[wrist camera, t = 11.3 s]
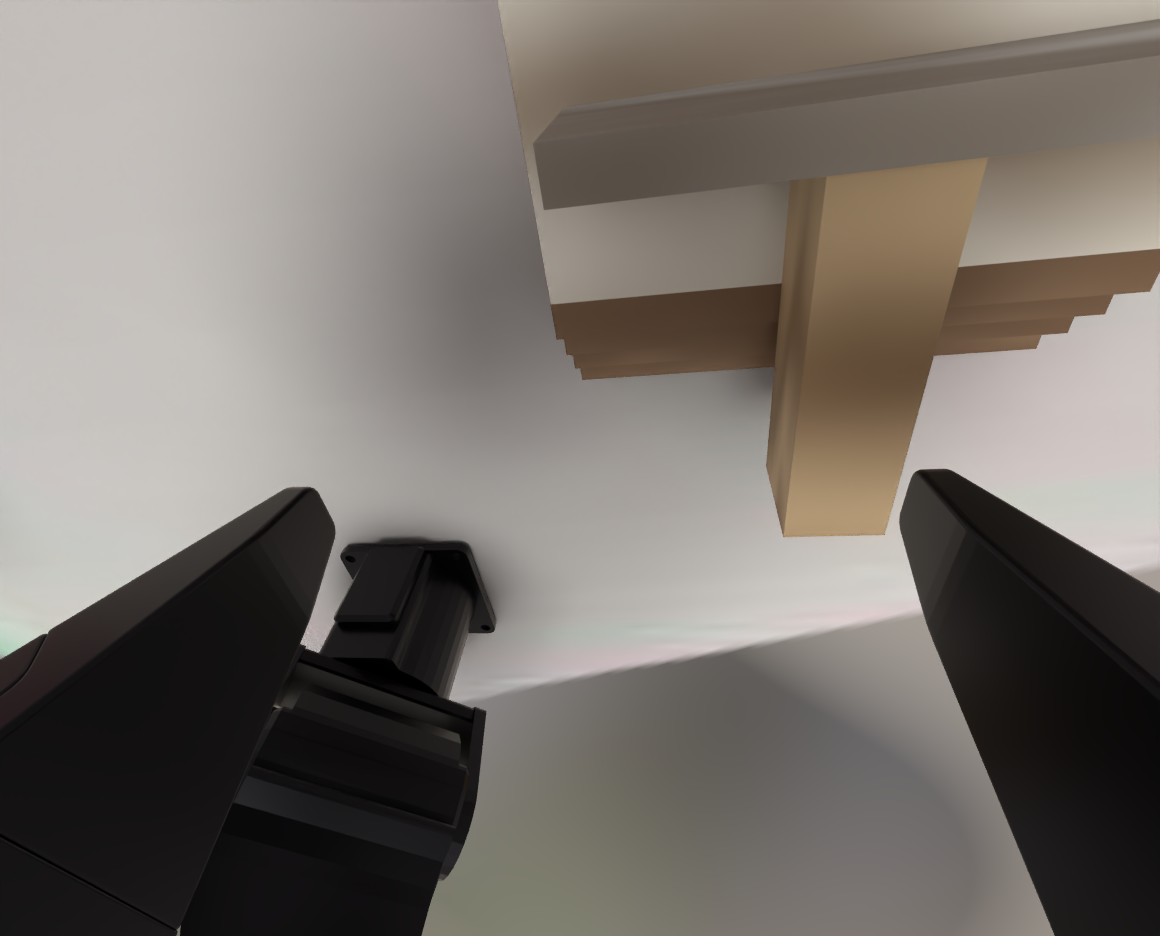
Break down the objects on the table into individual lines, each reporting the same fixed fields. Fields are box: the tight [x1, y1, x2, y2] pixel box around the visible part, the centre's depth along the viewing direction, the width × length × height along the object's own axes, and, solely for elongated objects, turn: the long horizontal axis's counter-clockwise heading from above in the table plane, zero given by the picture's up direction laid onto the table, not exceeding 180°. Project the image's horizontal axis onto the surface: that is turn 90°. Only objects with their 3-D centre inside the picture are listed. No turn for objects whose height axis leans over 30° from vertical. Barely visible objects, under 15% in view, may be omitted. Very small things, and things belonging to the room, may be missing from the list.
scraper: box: [533, 19, 1160, 537], centre depth 13 cm, size 10×12×4 cm
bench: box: [497, 0, 1160, 380], centre depth 14 cm, size 11×14×4 cm
